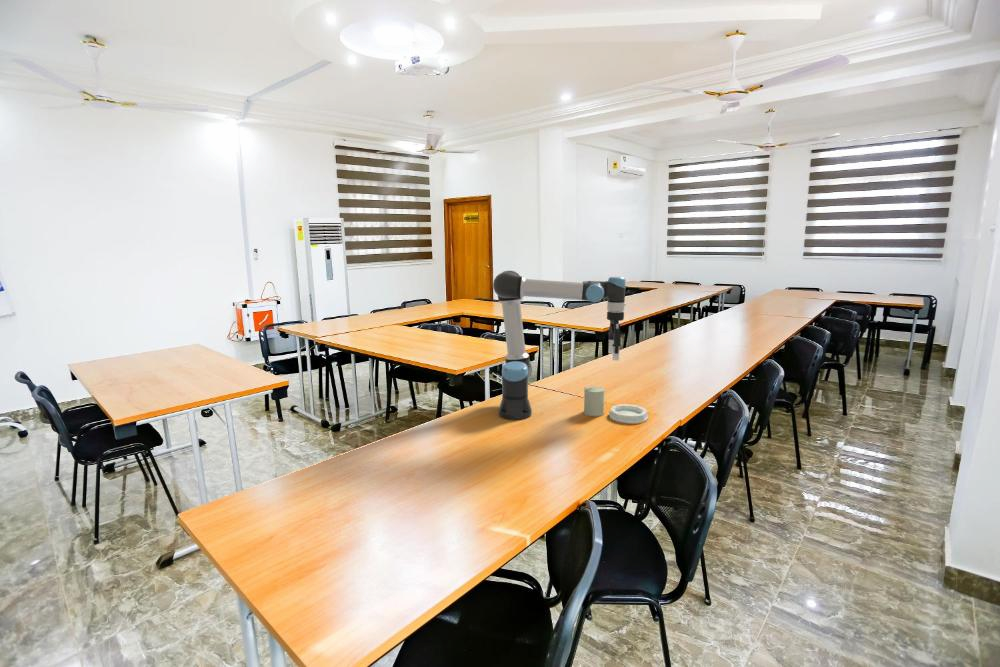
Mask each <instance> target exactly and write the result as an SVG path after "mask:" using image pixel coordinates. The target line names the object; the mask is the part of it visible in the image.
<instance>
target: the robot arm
mask: <svg viewBox="0 0 1000 667" xmlns="http://www.w3.org/2000/svg"><path fill="white" fill-rule="evenodd" d="M492 285H493V286H492V287H493V291H494V293H495V294H496V295H497V301H498V302H499V304H501V307H502V308H501V309H502V315H503V316H502V317H503V324H504V333H505V335H504V336H505V341H506V349H507V350H506V353H507V354H506V356H504V360H505V363H504V364H503V366H502V368H501V376H502V377H501V382H502V383H501V384H502V385H501V388H502V390H501V391H502V393H501V394H502V398H501V401H500V405H499V408H498V415H499V417H501V418H503V419H506V420H514V421H515V420H523V419H527V418H530V417H531V416H532V413H533V411H532V407H531V403H530V400H529V380H530V377H531V376H532V373H533V367H532V364H531V360H530V354H529V353H527V351H526V346H525V345H526V343H525V335H524V325H523V317H522V306H521V301H522V300H523V299H524V297H527V298H528V297H529V298H530V297H531V298H533V297H534V298H542V299H543V298H545V299H561V300H574V301H575V300H577V301H583V302H585V301H587V302H590V303H599V302H601V300H603V299H607V303H606V304H607V307H606V310H607V312H606V320H608V321H610V322H609V328H608V351H607V352H608V354H612V361H619V360H620V347H621V324H620V323H619V322H620V321H624V319H625V312H624V311H625V307H626V305H627V304H626V303H625V301H626V279H625V277H623V276H610V277H608V279H607V280H606V281H600V280H599V281H597V280H596V281H595V280H594V281H593V280H583V281H582V282H575V281H561V280H544V279H533V278H532V279H529V278H525V277H524V276H523V275H520V274H519V273H518V272H517V271H514V270H504V271H503V272H500V273H498V274H497V275H496V277H494V280H493V282H492Z"/></svg>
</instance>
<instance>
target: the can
mask: <svg viewBox="0 0 1000 667" xmlns="http://www.w3.org/2000/svg"><path fill="white" fill-rule="evenodd" d="M583 391H584V393H583V394H584V398H583V399H584V400H583V401H584V402H583V403H584V404H583V406H584V407H583V414H584V415H585V416H589V417H601V416H603V415H605V408H604V407H605V388H604V387H603V386H596V385H591V386H589V385H588V386H586V387H584V389H583Z"/></svg>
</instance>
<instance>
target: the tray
mask: <svg viewBox="0 0 1000 667" xmlns="http://www.w3.org/2000/svg"><path fill="white" fill-rule="evenodd" d="M608 416H609V419H611V420H613V421H615V422H617V423H620V424H621V423H622V424H629V425H633V424H634V425H636V424H638V425H639V424H643V423H645V422H647V421H648V420H649V414H648V411H647V409H646V408H644V407H642V406H640V405H636V404H627V403H626V404H624V403H620V404H614V405H613V406H611V407H610V411H609V412H608Z"/></svg>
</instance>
